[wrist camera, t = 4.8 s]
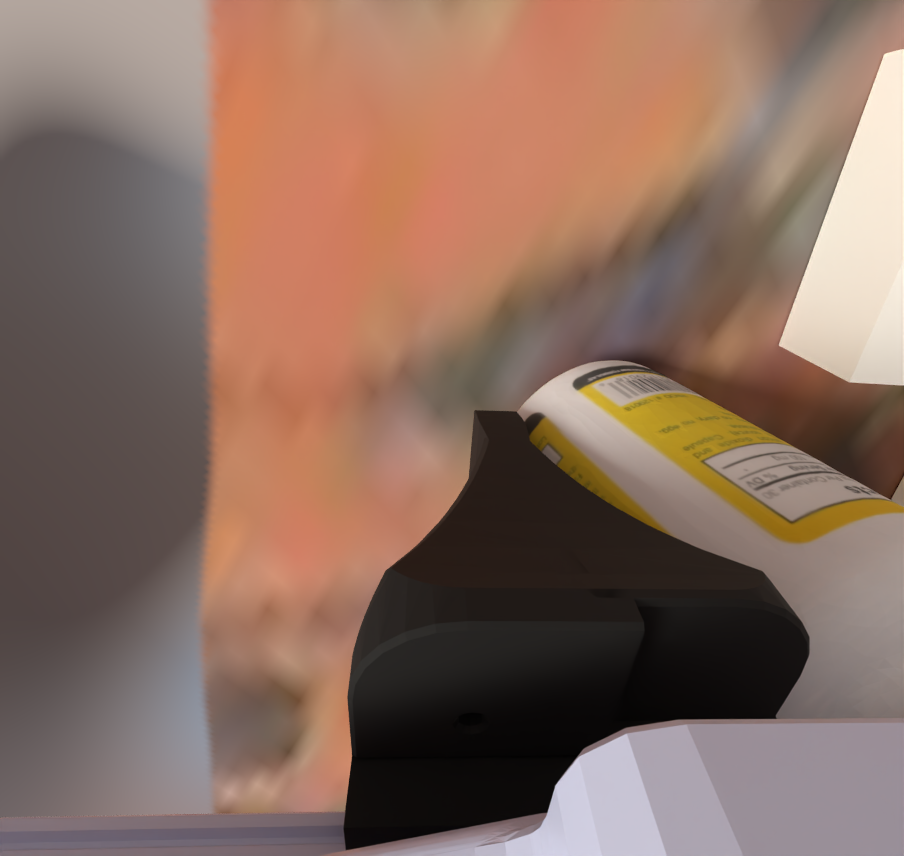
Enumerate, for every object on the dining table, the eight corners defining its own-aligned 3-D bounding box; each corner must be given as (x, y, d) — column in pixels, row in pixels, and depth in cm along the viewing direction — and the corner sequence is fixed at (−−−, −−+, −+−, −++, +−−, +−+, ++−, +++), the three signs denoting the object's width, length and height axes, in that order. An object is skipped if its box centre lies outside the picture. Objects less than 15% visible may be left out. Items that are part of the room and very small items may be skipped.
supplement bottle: (542, 568, 15) (881, 1079, 7) (446, 445, 12) (839, 1085, 4) (694, 458, 15) (1234, 840, 7) (634, 308, 12) (1474, 654, 4)
